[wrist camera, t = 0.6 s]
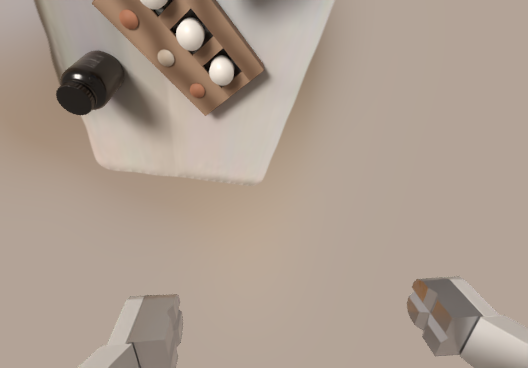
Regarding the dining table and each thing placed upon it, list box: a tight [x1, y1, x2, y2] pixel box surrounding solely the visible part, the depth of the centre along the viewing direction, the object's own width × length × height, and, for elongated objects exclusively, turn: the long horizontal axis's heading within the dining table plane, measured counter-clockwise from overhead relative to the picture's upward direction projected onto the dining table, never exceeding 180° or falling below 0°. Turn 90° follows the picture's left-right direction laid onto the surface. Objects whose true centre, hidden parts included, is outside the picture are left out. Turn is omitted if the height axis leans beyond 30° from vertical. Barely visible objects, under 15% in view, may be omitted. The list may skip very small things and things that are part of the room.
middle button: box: [176, 17, 205, 51], centre depth 43 cm, size 4×4×3 cm
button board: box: [92, 0, 264, 116], centre depth 45 cm, size 14×23×3 cm, turn 37°
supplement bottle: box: [56, 51, 124, 115], centre depth 45 cm, size 7×7×12 cm
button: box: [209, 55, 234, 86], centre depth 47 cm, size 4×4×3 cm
